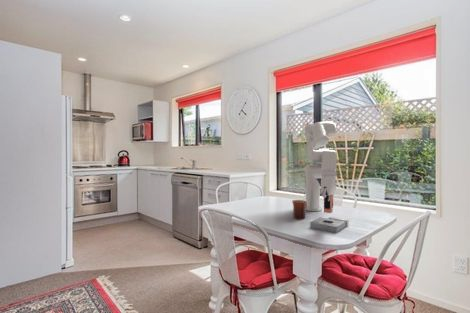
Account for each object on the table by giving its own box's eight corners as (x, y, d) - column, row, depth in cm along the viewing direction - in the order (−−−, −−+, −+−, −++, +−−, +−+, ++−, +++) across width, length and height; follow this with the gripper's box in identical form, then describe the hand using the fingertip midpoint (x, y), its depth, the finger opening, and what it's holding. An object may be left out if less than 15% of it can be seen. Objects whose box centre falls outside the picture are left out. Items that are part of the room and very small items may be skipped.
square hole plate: (310, 227, 145) (310, 222, 145) (320, 222, 156) (320, 217, 156) (336, 232, 136) (336, 226, 136) (345, 227, 147) (345, 221, 147)
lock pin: (323, 212, 146) (324, 193, 146) (326, 211, 148) (326, 192, 148) (330, 213, 143) (330, 194, 143) (332, 212, 146) (332, 193, 146)
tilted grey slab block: (328, 223, 155) (328, 217, 154) (330, 222, 157) (330, 216, 157) (346, 227, 148) (346, 220, 148) (348, 225, 151) (348, 219, 151)
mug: (301, 220, 161) (301, 203, 161) (289, 217, 167) (289, 201, 167) (312, 217, 169) (312, 200, 169) (299, 214, 175) (300, 198, 175)
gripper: (327, 172, 155) (327, 205, 154) (315, 173, 142) (315, 209, 142) (341, 173, 150) (340, 206, 150) (330, 174, 137) (329, 211, 137)
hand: (328, 207), depth 146 cm, fingers closed on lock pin, 3 cm apart
